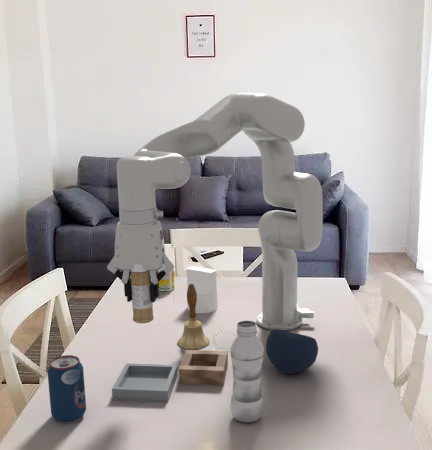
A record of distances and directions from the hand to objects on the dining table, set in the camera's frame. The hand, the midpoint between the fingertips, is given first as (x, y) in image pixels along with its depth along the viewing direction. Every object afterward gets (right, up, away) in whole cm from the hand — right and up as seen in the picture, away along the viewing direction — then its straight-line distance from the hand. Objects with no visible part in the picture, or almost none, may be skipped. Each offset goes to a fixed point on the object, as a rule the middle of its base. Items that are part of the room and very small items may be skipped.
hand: (142, 299), depth 128 cm
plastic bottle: (+22, -23, -9) cm, 33 cm away
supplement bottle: (0, -5, +68) cm, 69 cm away
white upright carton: (+12, -9, +51) cm, 54 cm away
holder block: (+13, -19, +10) cm, 25 cm away
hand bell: (+10, -15, +27) cm, 32 cm away
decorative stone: (+33, -18, +11) cm, 39 cm away
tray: (0, -20, +5) cm, 21 cm away
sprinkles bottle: (0, -5, +1) cm, 5 cm away
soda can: (-14, -23, -7) cm, 28 cm away
